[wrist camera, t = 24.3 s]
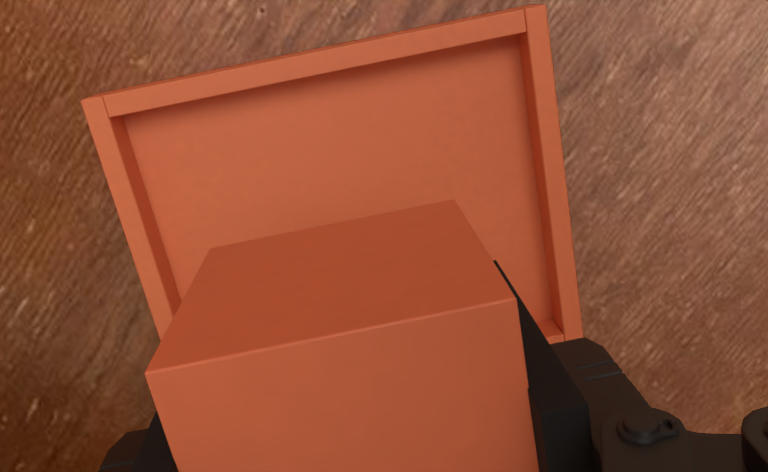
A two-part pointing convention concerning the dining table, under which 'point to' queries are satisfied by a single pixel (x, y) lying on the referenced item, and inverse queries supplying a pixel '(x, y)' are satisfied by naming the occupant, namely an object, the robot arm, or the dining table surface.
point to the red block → (348, 353)
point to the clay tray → (351, 153)
